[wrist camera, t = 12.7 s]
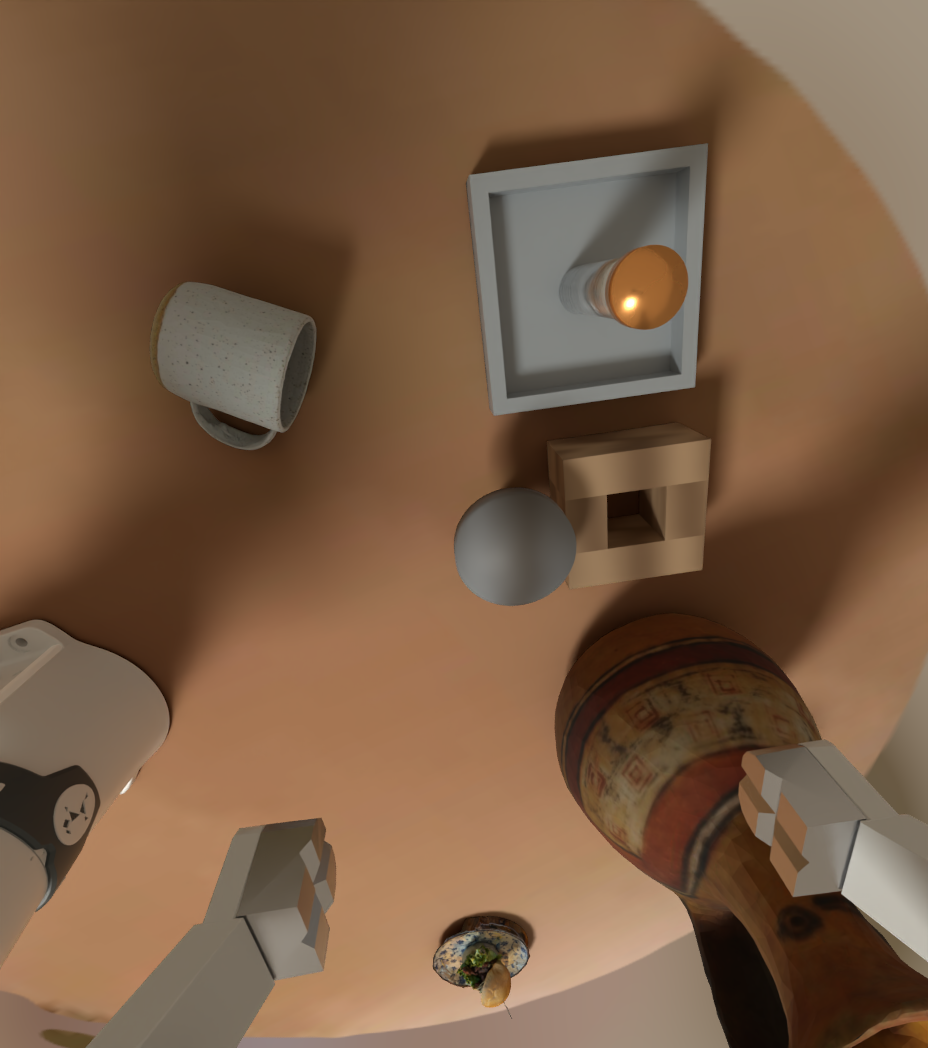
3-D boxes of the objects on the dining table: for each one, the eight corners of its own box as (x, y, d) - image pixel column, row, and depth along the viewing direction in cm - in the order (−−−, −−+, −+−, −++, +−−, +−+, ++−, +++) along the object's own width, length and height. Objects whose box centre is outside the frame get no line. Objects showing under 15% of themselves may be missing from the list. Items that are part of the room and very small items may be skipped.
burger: (453, 906, 61) (457, 983, 55) (543, 922, 64) (558, 997, 57) (417, 965, 66) (417, 1043, 59) (503, 978, 68) (513, 1054, 61)
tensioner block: (458, 572, 43) (465, 625, 36) (440, 456, 39) (445, 490, 32) (672, 541, 44) (720, 587, 37) (677, 422, 40) (732, 449, 33)
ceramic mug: (199, 274, 33) (143, 272, 27) (323, 313, 35) (300, 321, 28) (183, 426, 37) (131, 458, 31) (296, 456, 39) (269, 493, 32)
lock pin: (555, 322, 36) (612, 334, 25) (552, 263, 34) (611, 250, 24) (608, 315, 36) (686, 324, 25) (607, 256, 34) (690, 239, 24)
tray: (489, 408, 38) (493, 415, 36) (466, 182, 33) (469, 175, 30) (679, 381, 38) (695, 387, 36) (688, 153, 33) (708, 143, 31)
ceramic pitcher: (768, 587, 46) (1268, 1010, 19) (727, 756, 54) (1036, 1224, 27) (548, 600, 45) (743, 1070, 18) (539, 771, 53) (664, 1275, 26)
